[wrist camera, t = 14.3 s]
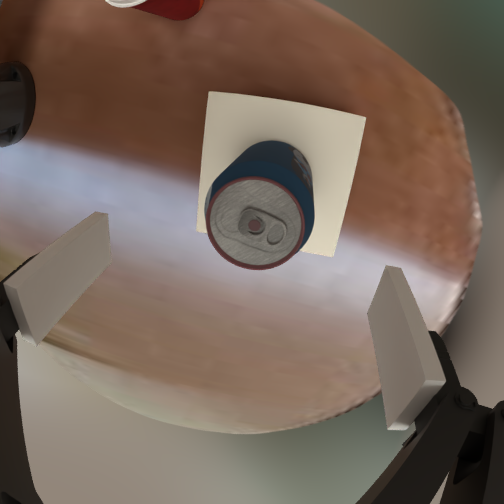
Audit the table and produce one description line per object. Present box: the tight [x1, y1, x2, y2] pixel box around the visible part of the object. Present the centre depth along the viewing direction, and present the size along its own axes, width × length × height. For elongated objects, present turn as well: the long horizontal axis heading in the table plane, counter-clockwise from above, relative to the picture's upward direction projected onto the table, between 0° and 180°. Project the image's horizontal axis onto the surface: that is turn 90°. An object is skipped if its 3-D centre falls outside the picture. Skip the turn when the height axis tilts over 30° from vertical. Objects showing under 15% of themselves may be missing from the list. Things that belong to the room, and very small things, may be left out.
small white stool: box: [196, 91, 366, 257], centre depth 33 cm, size 14×14×10 cm
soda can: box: [204, 140, 315, 270], centre depth 24 cm, size 7×7×12 cm
